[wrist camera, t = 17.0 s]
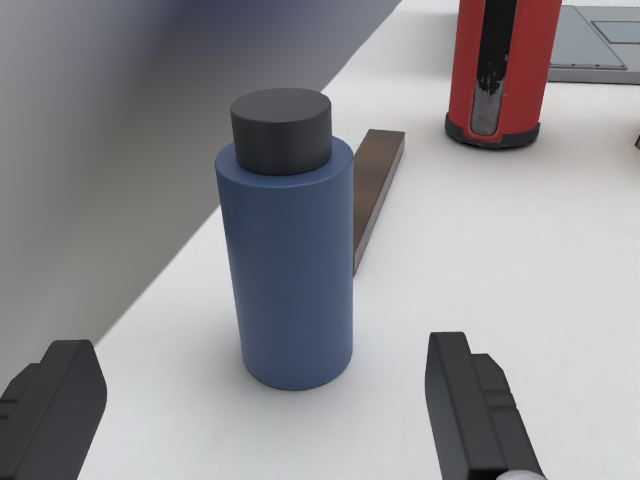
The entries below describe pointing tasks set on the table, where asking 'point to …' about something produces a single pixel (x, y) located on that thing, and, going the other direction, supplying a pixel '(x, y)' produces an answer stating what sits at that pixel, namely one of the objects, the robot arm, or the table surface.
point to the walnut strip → (372, 182)
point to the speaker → (500, 70)
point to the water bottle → (289, 236)
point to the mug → (638, 142)
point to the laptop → (596, 45)
